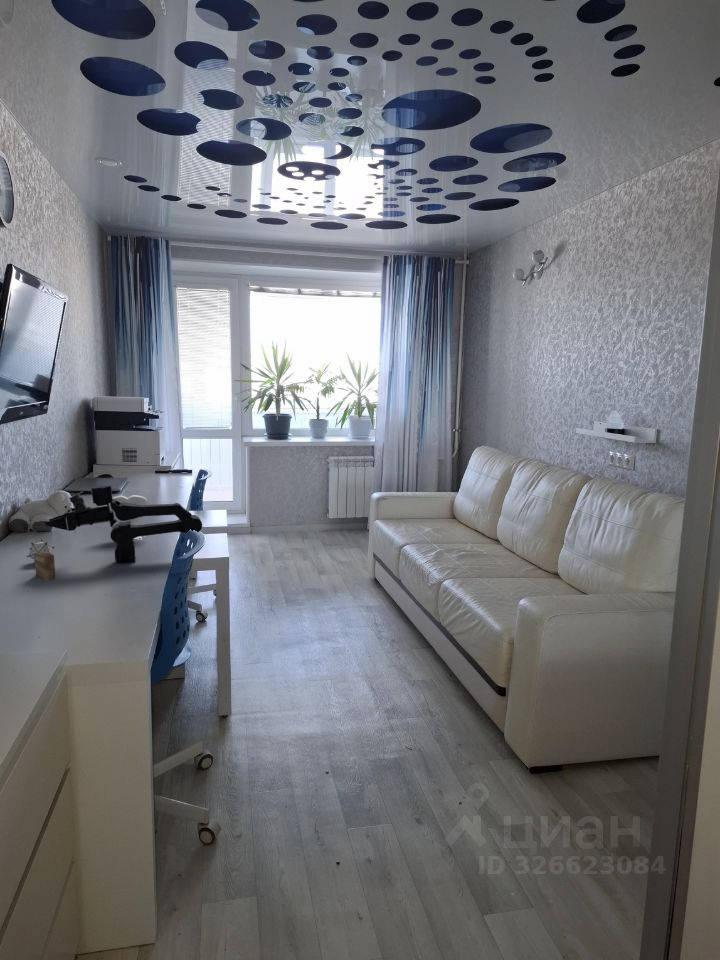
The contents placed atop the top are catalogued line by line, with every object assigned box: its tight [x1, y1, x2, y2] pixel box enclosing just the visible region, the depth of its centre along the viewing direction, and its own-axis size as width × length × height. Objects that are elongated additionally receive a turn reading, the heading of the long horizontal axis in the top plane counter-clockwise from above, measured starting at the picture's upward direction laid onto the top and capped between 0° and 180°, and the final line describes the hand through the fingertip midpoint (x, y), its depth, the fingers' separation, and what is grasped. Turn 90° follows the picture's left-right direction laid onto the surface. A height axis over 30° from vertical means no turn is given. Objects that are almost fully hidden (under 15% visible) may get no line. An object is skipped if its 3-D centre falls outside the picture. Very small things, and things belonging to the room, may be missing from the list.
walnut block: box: [34, 551, 56, 581], centre depth 215 cm, size 3×7×8 cm, turn 53°
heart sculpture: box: [109, 494, 149, 540], centre depth 267 cm, size 16×5×18 cm, turn 107°
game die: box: [26, 538, 55, 563], centre depth 231 cm, size 9×8×10 cm
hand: (47, 522), depth 224 cm, fingers open, 9 cm apart
